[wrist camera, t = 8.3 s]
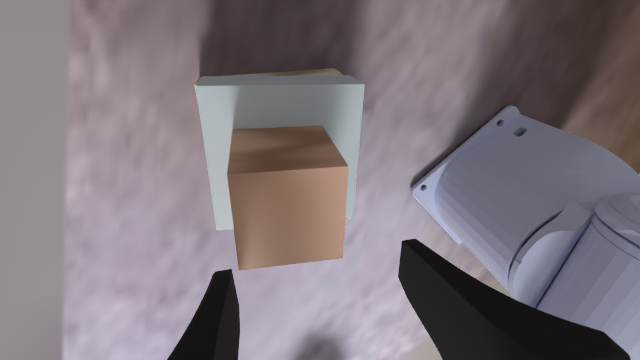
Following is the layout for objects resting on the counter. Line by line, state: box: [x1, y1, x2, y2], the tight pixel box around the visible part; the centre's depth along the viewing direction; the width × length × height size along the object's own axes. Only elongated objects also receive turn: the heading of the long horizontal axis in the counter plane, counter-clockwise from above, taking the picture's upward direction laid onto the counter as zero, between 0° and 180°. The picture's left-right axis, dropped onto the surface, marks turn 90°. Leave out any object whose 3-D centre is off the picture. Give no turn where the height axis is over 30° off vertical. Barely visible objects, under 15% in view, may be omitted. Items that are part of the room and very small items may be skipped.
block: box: [227, 126, 349, 270], centre depth 15 cm, size 4×4×5 cm
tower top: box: [196, 75, 365, 230], centre depth 19 cm, size 8×8×2 cm
